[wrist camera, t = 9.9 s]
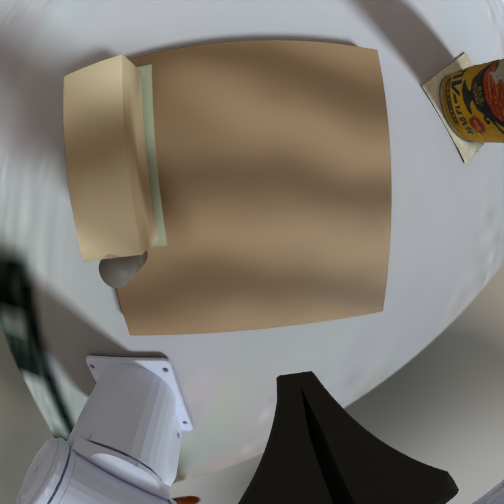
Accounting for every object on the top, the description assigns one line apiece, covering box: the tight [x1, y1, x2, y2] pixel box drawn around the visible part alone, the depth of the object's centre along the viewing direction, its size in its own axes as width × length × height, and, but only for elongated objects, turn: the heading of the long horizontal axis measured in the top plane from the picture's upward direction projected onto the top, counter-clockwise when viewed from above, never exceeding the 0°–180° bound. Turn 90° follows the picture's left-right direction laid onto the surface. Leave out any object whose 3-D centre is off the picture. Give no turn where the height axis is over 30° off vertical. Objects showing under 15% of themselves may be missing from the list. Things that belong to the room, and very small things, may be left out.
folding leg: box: [63, 54, 158, 288], centre depth 13 cm, size 12×4×3 cm, turn 6°
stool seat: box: [116, 40, 391, 335], centre depth 16 cm, size 18×18×2 cm
